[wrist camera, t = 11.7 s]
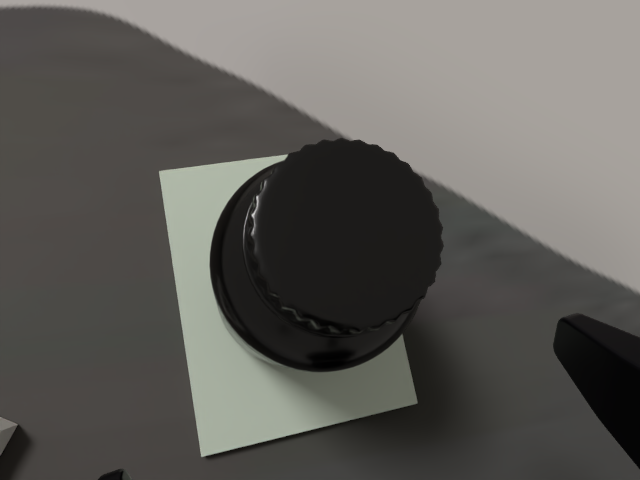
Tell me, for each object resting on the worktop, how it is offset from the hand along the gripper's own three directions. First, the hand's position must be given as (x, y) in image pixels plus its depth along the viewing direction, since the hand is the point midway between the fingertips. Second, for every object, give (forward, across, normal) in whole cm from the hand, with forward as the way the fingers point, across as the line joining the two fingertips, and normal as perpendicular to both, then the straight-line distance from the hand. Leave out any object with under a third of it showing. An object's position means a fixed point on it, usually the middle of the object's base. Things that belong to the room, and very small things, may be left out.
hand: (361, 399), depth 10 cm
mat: (+12, 0, +7) cm, 14 cm away
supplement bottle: (+12, 0, +7) cm, 14 cm away
